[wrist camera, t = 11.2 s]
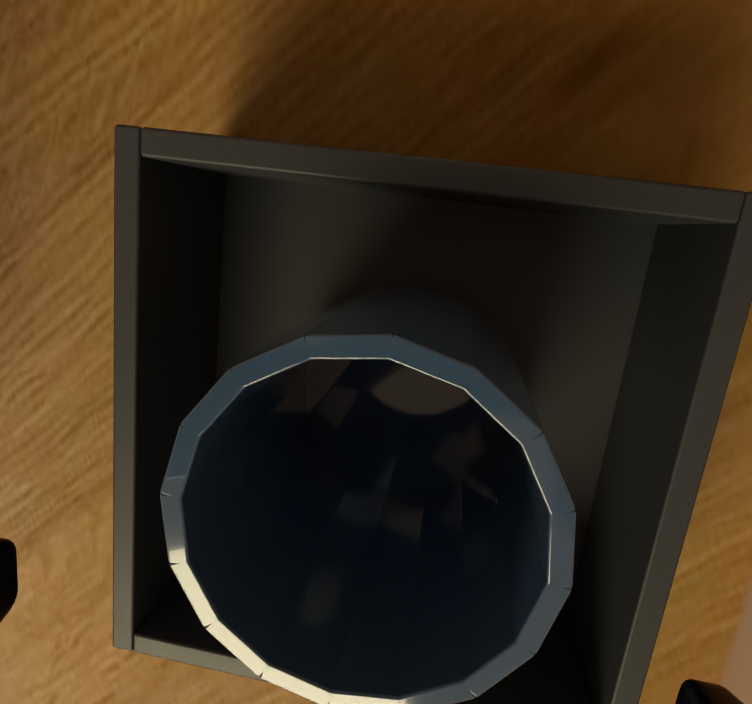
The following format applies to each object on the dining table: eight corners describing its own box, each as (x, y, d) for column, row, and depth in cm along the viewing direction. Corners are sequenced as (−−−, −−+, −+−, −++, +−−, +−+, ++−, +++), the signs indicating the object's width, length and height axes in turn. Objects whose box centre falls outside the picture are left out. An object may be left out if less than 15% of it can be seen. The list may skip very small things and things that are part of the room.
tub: (679, 204, 15) (782, 194, 10) (579, 620, 18) (622, 764, 13) (215, 153, 16) (113, 123, 12) (197, 544, 20) (111, 647, 15)
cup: (571, 396, 16) (673, 556, 8) (408, 538, 18) (368, 778, 10) (401, 232, 16) (344, 238, 8) (253, 393, 17) (89, 525, 10)
